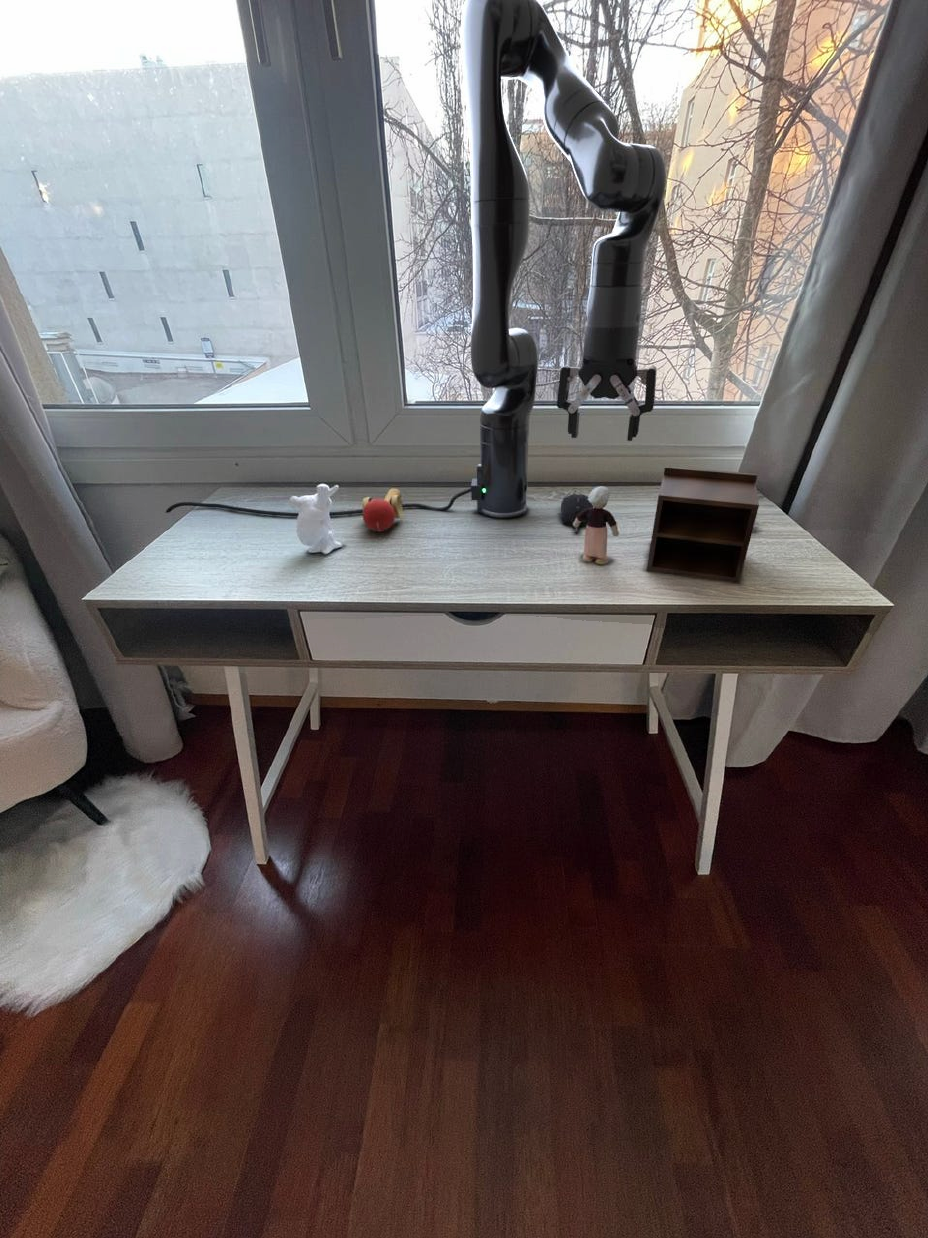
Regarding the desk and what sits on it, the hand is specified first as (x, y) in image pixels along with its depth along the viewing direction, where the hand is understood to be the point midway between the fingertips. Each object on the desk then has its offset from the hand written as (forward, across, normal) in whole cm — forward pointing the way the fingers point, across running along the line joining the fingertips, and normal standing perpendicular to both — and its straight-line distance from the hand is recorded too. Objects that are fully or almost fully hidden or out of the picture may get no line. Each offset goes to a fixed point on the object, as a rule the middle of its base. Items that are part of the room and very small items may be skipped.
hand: (601, 438), depth 92 cm
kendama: (+19, +41, -4) cm, 46 cm away
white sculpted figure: (+19, +46, +13) cm, 51 cm away
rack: (+20, -17, -1) cm, 26 cm away
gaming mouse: (+20, +5, -15) cm, 25 cm away
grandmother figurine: (+20, -1, +2) cm, 20 cm away
